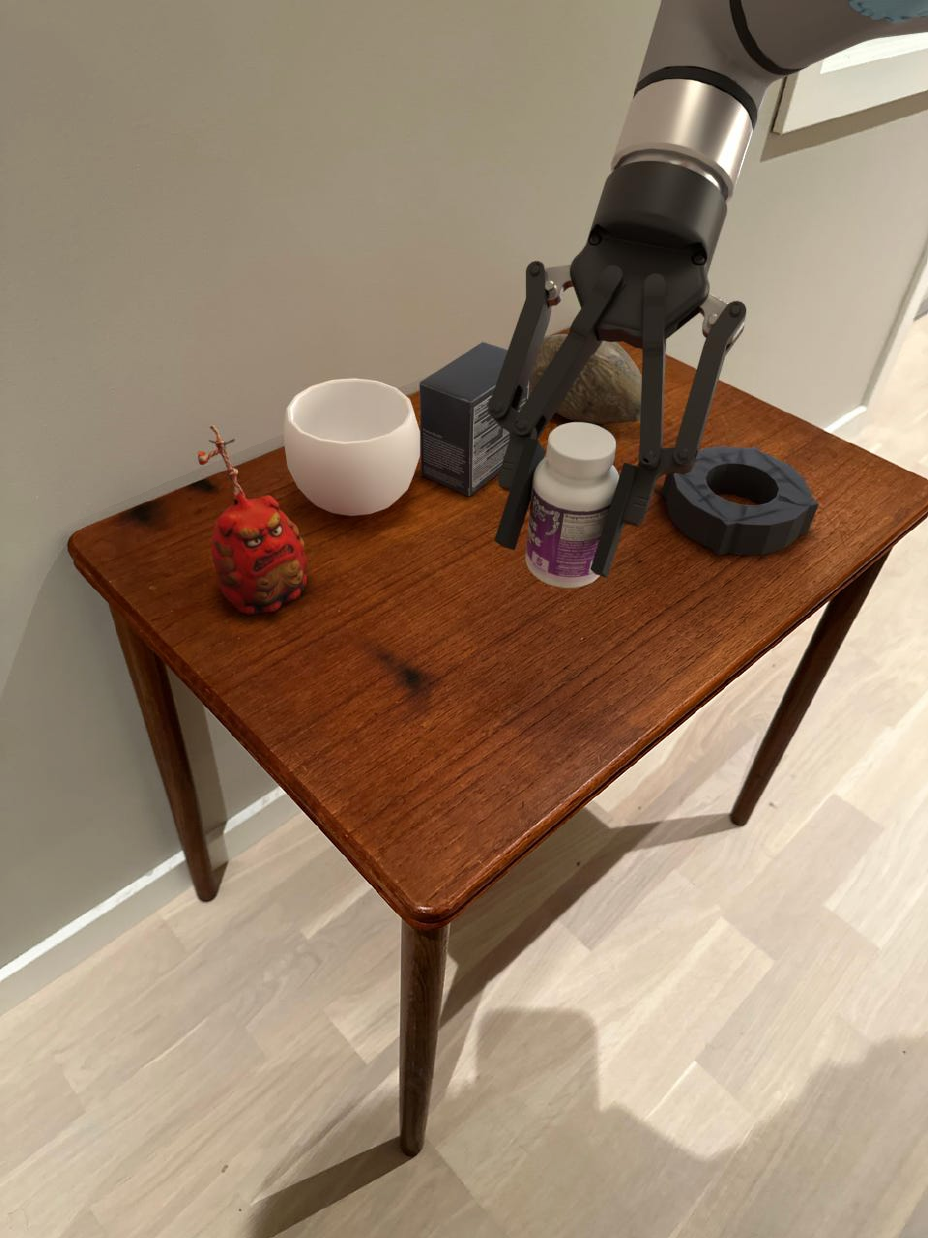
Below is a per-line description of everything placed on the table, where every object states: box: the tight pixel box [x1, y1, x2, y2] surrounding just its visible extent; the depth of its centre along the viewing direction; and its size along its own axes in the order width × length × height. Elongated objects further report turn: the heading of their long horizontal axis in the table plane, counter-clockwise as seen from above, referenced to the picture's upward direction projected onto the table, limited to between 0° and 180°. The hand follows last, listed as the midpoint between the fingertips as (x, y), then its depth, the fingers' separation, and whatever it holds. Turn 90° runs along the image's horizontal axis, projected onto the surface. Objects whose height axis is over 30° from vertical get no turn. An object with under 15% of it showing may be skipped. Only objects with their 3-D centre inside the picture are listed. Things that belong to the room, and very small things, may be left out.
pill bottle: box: [525, 421, 620, 589], centre depth 54 cm, size 5×5×10 cm
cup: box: [282, 377, 421, 517], centre depth 80 cm, size 12×12×10 cm
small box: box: [418, 341, 532, 497], centre depth 85 cm, size 11×6×10 cm, turn 144°
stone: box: [531, 333, 642, 425], centre depth 94 cm, size 17×9×8 cm, turn 52°
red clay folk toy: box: [197, 425, 308, 616], centre depth 68 cm, size 8×7×15 cm
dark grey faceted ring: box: [661, 445, 820, 556], centre depth 82 cm, size 12×12×4 cm
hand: (551, 558), depth 53 cm, fingers closed on pill bottle, 5 cm apart
